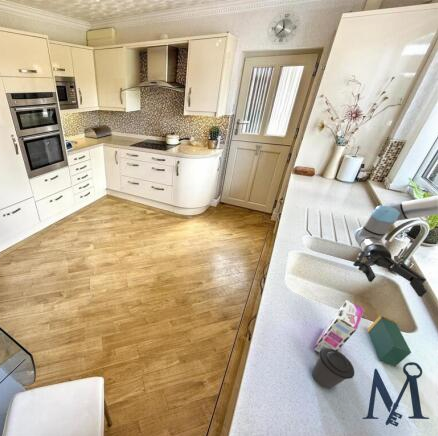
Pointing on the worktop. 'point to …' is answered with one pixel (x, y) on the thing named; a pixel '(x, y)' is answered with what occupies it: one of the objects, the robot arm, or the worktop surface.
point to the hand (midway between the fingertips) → (396, 286)
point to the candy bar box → (340, 327)
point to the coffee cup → (332, 368)
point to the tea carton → (388, 341)
